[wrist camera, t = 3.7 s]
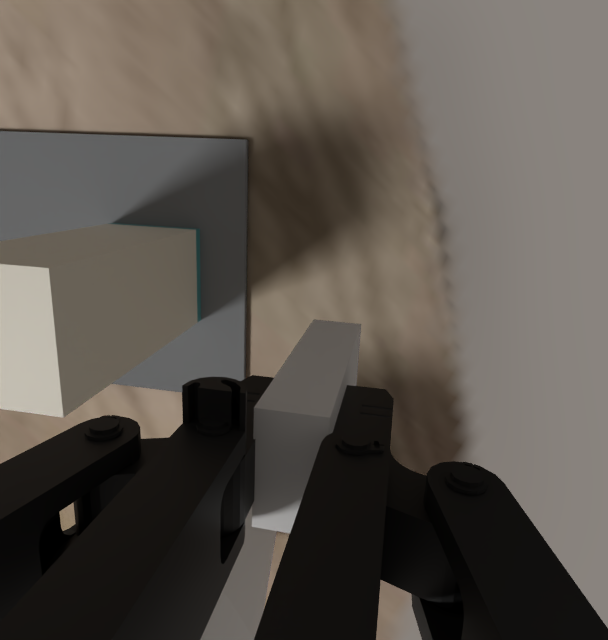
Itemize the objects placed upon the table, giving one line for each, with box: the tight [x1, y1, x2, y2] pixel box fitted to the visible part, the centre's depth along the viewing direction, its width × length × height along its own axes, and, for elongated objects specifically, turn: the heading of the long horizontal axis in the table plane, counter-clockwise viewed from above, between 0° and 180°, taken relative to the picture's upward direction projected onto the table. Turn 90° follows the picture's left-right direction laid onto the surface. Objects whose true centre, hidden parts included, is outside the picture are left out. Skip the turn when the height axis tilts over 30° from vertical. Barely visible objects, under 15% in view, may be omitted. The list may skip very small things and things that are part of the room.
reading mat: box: [0, 131, 248, 392], centre depth 29 cm, size 22×14×1 cm, turn 87°
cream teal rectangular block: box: [0, 223, 201, 417], centre depth 22 cm, size 5×5×12 cm
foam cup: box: [200, 506, 277, 640], centre depth 25 cm, size 10×9×13 cm
